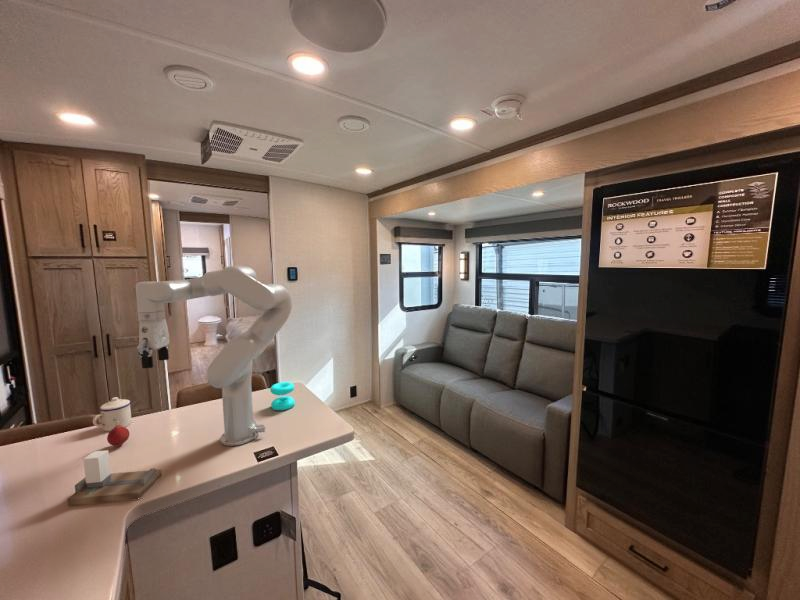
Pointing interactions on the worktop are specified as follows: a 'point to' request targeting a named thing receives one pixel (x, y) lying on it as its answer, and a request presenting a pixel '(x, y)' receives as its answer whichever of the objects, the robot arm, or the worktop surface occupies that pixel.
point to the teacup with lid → (114, 414)
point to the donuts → (284, 401)
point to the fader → (97, 469)
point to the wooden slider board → (115, 488)
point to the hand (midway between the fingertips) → (156, 363)
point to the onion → (118, 435)
